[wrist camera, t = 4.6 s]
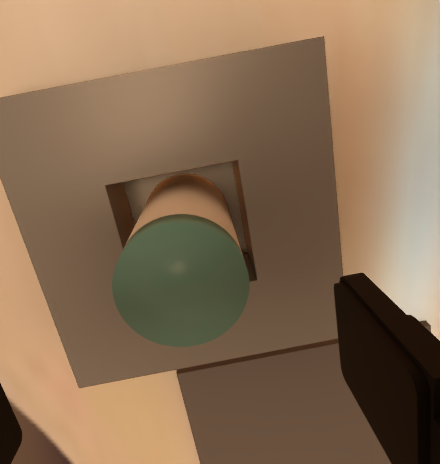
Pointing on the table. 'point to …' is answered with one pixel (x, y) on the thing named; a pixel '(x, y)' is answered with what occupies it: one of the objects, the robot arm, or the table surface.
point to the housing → (172, 160)
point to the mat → (278, 409)
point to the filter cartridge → (182, 266)
